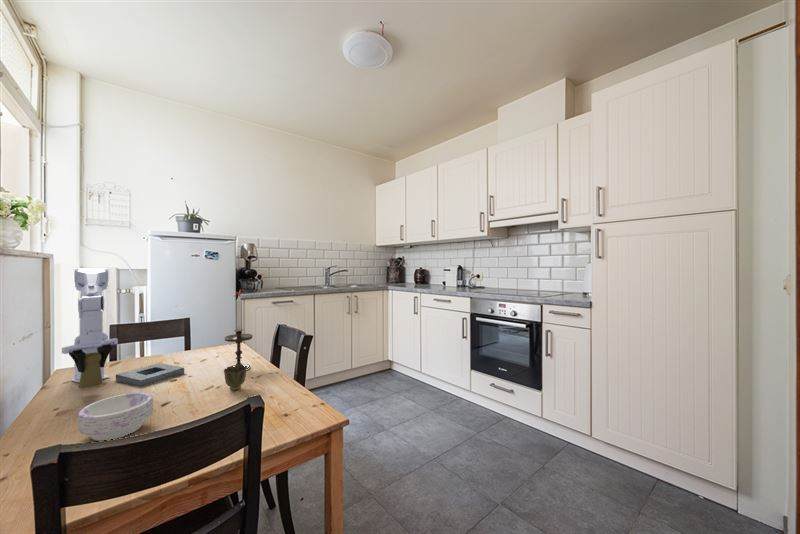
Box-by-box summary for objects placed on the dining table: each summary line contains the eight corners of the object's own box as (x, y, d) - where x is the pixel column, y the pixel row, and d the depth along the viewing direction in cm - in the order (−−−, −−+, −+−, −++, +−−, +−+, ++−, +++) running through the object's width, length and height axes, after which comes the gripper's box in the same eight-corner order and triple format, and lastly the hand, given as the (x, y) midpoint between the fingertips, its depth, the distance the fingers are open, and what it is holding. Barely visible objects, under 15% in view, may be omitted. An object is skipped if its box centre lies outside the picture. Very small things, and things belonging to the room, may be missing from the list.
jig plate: (115, 380, 125) (115, 374, 125) (159, 368, 140) (159, 362, 140) (140, 387, 119) (140, 380, 119) (184, 373, 134) (184, 367, 134)
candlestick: (244, 364, 147) (244, 287, 147) (257, 368, 141) (257, 289, 141) (219, 370, 139) (220, 289, 138) (232, 375, 132) (232, 290, 132)
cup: (223, 395, 112) (223, 372, 112) (223, 388, 119) (224, 366, 119) (247, 391, 116) (247, 369, 116) (246, 384, 122) (246, 363, 122)
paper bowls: (61, 444, 81) (61, 413, 81) (122, 416, 96) (122, 390, 96) (111, 450, 78) (111, 418, 78) (166, 421, 93) (166, 394, 93)
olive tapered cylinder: (87, 388, 108) (87, 355, 108) (73, 387, 109) (74, 354, 110) (107, 382, 114) (107, 351, 114) (94, 381, 115) (95, 350, 116)
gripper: (69, 335, 104) (69, 377, 104) (122, 327, 117) (122, 364, 117) (58, 333, 106) (58, 374, 106) (111, 326, 120) (111, 362, 120)
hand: (91, 369), depth 112 cm, fingers closed on olive tapered cylinder, 5 cm apart
